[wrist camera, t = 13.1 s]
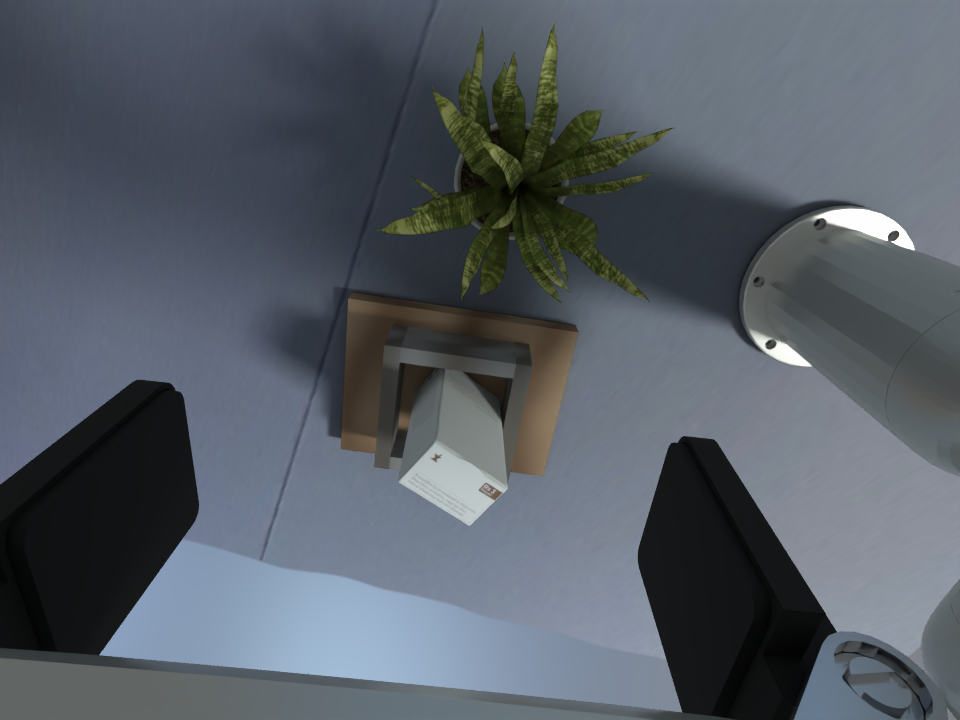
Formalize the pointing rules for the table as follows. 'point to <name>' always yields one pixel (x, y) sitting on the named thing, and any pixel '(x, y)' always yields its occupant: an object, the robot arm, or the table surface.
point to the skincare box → (455, 445)
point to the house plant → (523, 179)
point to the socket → (455, 346)
